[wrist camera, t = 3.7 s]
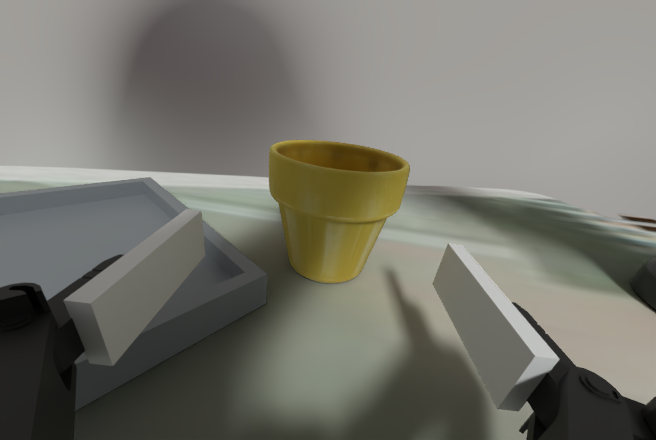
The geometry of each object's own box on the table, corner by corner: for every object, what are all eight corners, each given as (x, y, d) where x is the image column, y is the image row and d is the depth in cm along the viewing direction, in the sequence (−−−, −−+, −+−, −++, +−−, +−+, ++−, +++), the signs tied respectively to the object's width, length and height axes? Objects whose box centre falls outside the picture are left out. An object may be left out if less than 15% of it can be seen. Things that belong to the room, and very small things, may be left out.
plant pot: (240, 256, 22) (238, 139, 18) (318, 223, 30) (330, 136, 26) (334, 326, 17) (362, 182, 12) (400, 264, 24) (432, 162, 20)
